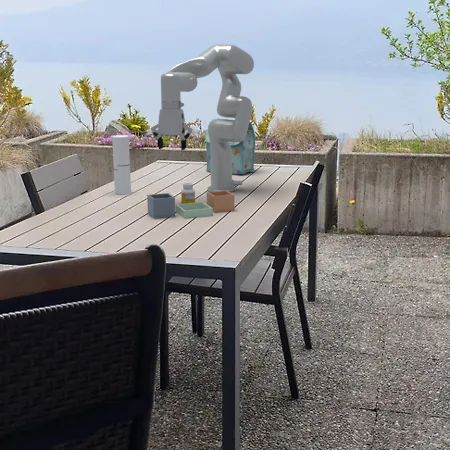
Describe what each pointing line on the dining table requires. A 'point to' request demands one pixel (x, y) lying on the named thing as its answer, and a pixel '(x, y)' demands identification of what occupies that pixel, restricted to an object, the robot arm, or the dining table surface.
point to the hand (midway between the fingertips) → (172, 149)
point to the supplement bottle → (188, 193)
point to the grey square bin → (161, 205)
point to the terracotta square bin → (221, 201)
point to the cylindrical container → (121, 164)
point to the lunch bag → (238, 153)
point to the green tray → (194, 210)
